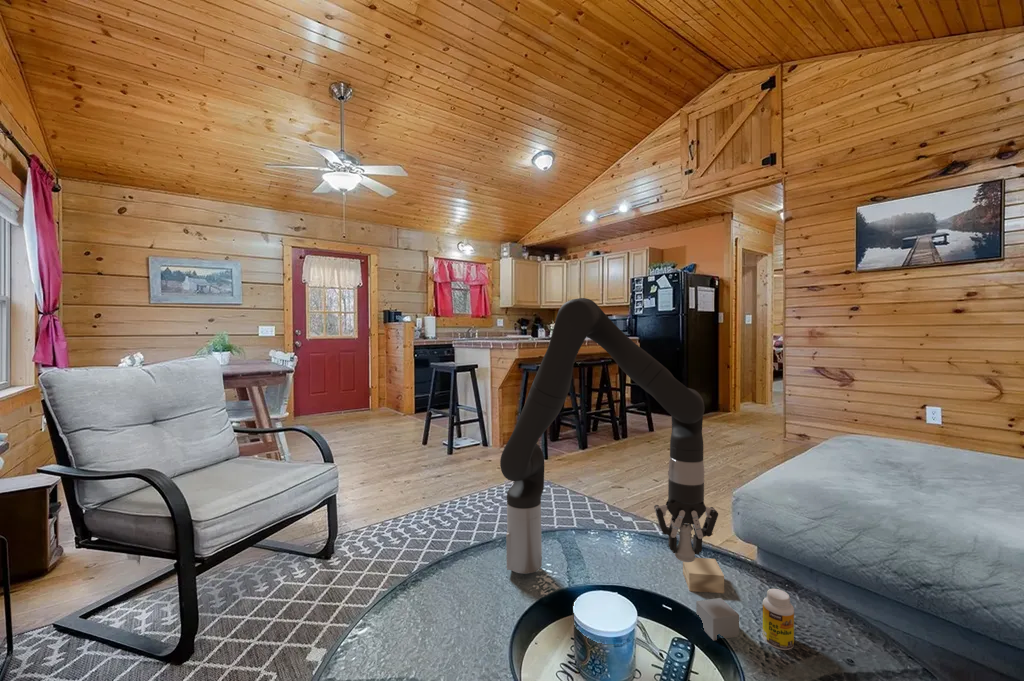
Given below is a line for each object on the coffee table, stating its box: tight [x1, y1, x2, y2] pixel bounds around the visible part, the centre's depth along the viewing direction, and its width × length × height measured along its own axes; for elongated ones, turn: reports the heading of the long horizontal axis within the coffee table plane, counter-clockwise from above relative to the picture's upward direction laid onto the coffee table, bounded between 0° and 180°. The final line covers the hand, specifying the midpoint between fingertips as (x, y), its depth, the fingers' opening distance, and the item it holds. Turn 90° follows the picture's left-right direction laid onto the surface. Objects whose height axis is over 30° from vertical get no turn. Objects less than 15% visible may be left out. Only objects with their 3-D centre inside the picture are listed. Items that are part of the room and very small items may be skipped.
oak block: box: [682, 557, 725, 594], centre depth 113 cm, size 8×8×5 cm
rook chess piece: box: [674, 523, 697, 563], centre depth 101 cm, size 4×4×8 cm
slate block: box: [695, 597, 740, 641], centre depth 96 cm, size 6×6×5 cm
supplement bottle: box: [762, 588, 795, 651], centre depth 92 cm, size 6×6×10 cm
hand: (685, 551), depth 101 cm, fingers closed on rook chess piece, 4 cm apart
